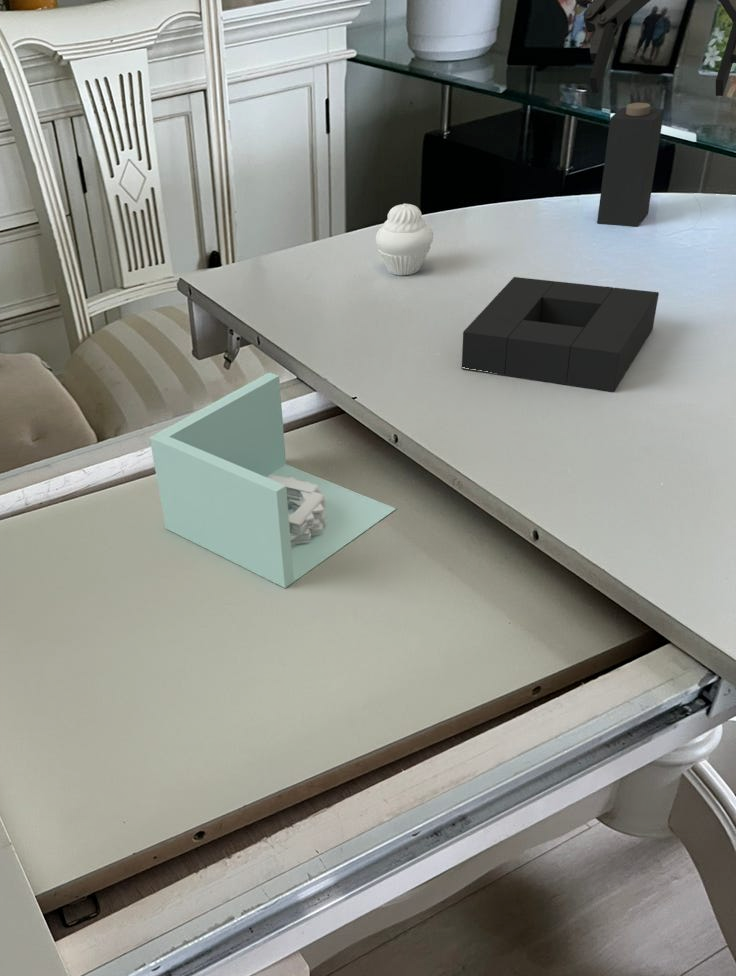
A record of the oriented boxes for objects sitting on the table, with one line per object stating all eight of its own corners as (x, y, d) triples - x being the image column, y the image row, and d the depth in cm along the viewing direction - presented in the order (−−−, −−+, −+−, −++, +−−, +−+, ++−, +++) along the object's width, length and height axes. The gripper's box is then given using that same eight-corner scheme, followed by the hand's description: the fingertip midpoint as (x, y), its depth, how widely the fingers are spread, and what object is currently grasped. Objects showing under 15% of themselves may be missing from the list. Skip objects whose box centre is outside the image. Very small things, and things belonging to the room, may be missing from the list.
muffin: (364, 275, 108) (363, 208, 104) (396, 256, 112) (396, 191, 107) (412, 284, 105) (413, 216, 101) (443, 265, 109) (445, 198, 104)
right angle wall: (285, 588, 66) (276, 491, 62) (165, 528, 73) (149, 437, 69) (396, 508, 73) (396, 415, 68) (276, 460, 79) (268, 372, 75)
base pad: (652, 329, 92) (659, 292, 89) (613, 392, 83) (620, 352, 81) (511, 312, 97) (513, 276, 95) (461, 369, 89) (463, 331, 87)
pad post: (648, 213, 115) (665, 100, 108) (638, 226, 112) (655, 111, 105) (607, 210, 117) (622, 99, 110) (596, 223, 114) (611, 110, 107)
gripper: (594, -115, 114) (540, 63, 114) (837, -130, 103) (777, 67, 103) (601, -65, 121) (550, 103, 121) (830, -74, 110) (773, 110, 110)
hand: (654, 87), depth 112 cm, fingers open, 13 cm apart
